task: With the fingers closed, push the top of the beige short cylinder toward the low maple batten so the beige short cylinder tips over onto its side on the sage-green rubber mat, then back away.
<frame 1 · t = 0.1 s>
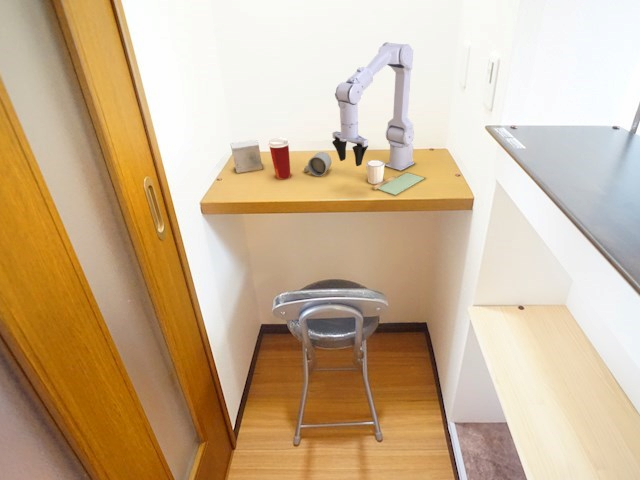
hand: (350, 162, 138), 10 cm above the table, tool pointing down, fingers open, 7 cm apart
ceramic mug: (317, 172, 157), on the table
paper cup: (283, 176, 155), on the table
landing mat: (401, 183, 146), on the table
grey concrete block: (249, 169, 162), on the table
stop batten: (384, 184, 146), on the table
beige short cylinder: (375, 181, 149), on the table
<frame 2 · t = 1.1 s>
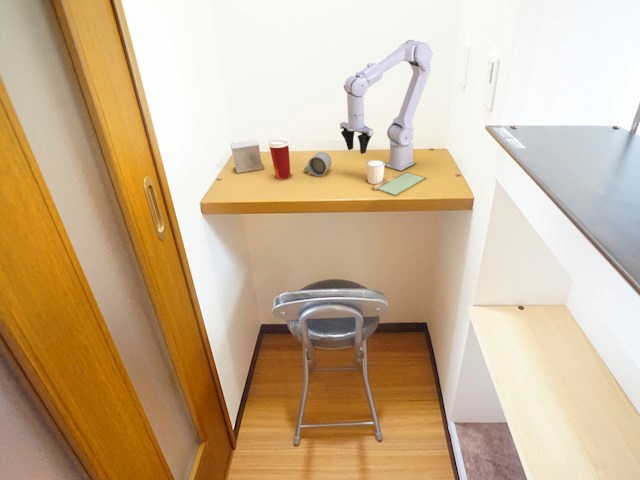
hand: (356, 151, 148), 9 cm above the table, tool pointing down, fingers open, 6 cm apart
nothing on the table moved.
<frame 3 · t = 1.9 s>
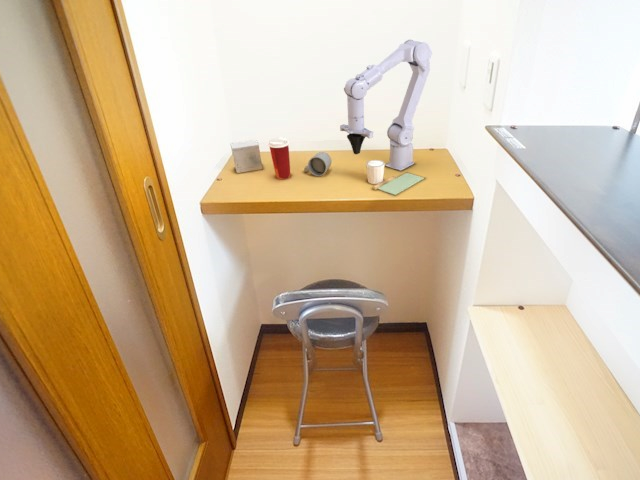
hand: (356, 153, 149), 9 cm above the table, tool pointing down, fingers closed
nothing on the table moved.
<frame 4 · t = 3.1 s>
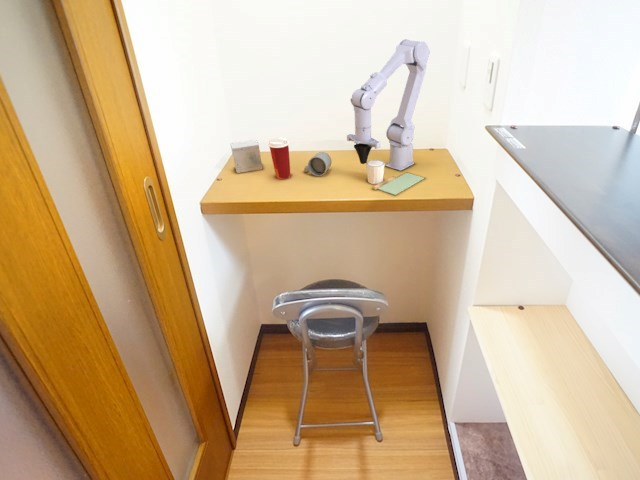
hand: (363, 163, 149), 6 cm above the table, tool pointing down, fingers closed
nothing on the table moved.
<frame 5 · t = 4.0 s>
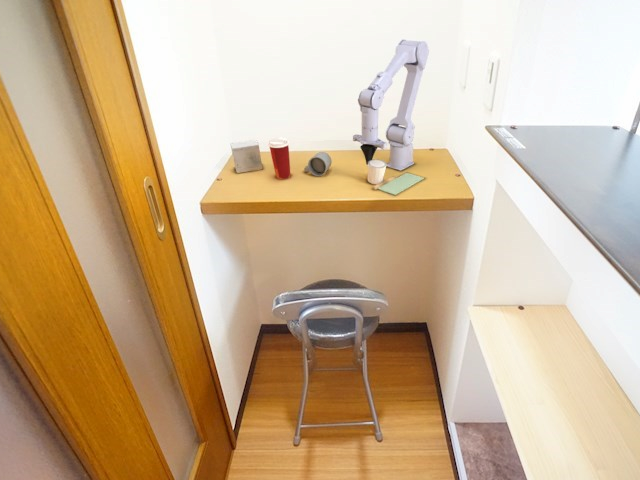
hand: (369, 164, 146), 6 cm above the table, tool pointing down, fingers closed, pressing on beige short cylinder
beige short cylinder: (374, 180, 149), on the table, touching gripper
everything else where it was.
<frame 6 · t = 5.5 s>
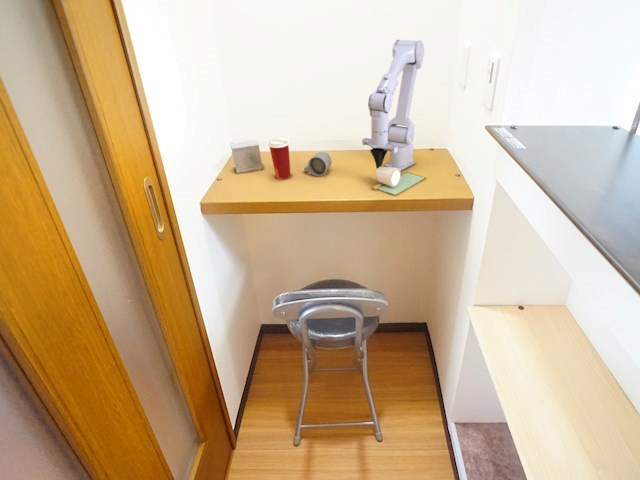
hand: (379, 167, 144), 6 cm above the table, tool pointing down, fingers closed, pressing on beige short cylinder
beige short cylinder: (379, 174, 145), point 3 cm above the table, touching gripper, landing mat
everything else where it was.
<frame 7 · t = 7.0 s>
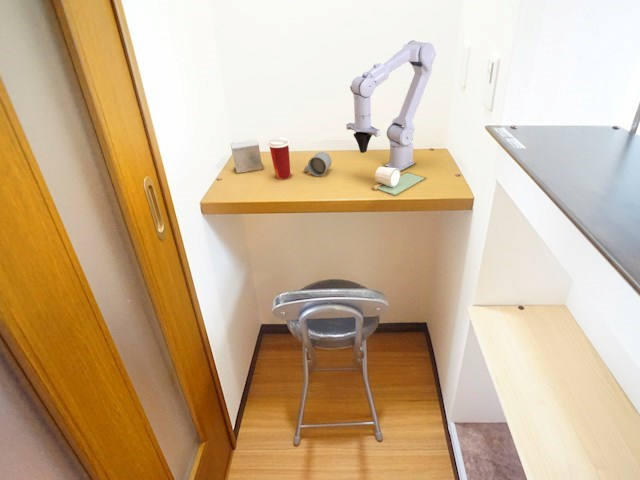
hand: (363, 151, 148), 9 cm above the table, tool pointing down, fingers closed
beige short cylinder: (379, 174, 145), point 3 cm above the table, touching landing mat, stop batten
everything else where it was.
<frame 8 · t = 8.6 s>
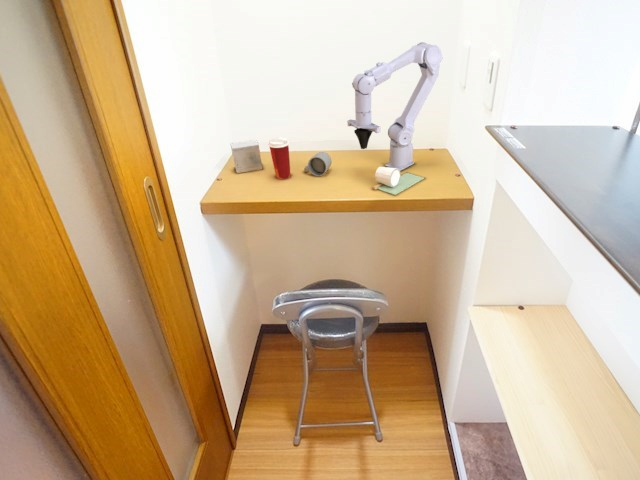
hand: (363, 148, 151), 9 cm above the table, tool pointing down, fingers closed
nothing on the table moved.
at the end: beige short cylinder tilted 87°; beige short cylinder touching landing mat, stop batten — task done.
